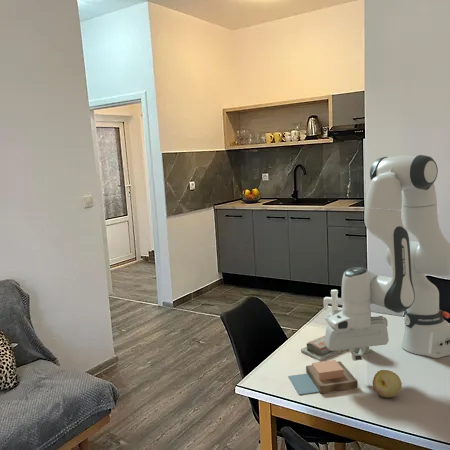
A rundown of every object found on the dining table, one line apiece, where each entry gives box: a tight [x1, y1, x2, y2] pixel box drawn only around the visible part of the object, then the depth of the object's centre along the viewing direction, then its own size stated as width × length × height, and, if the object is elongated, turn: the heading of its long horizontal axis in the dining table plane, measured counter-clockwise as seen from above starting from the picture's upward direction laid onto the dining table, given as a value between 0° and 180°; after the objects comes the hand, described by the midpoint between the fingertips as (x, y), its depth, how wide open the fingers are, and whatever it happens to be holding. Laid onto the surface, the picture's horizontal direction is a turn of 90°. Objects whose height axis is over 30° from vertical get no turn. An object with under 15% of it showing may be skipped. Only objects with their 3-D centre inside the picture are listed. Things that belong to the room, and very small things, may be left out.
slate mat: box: [288, 373, 320, 396], centre depth 145 cm, size 8×12×1 cm, turn 8°
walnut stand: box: [305, 360, 359, 395], centre depth 146 cm, size 12×14×2 cm
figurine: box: [323, 289, 343, 325], centre depth 192 cm, size 7×9×15 cm
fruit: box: [372, 369, 403, 398], centre depth 134 cm, size 8×8×8 cm
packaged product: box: [300, 335, 347, 362], centre depth 169 cm, size 18×5×10 cm
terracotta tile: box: [311, 359, 344, 380], centre depth 146 cm, size 8×7×2 cm
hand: (357, 359), depth 146 cm, fingers closed
